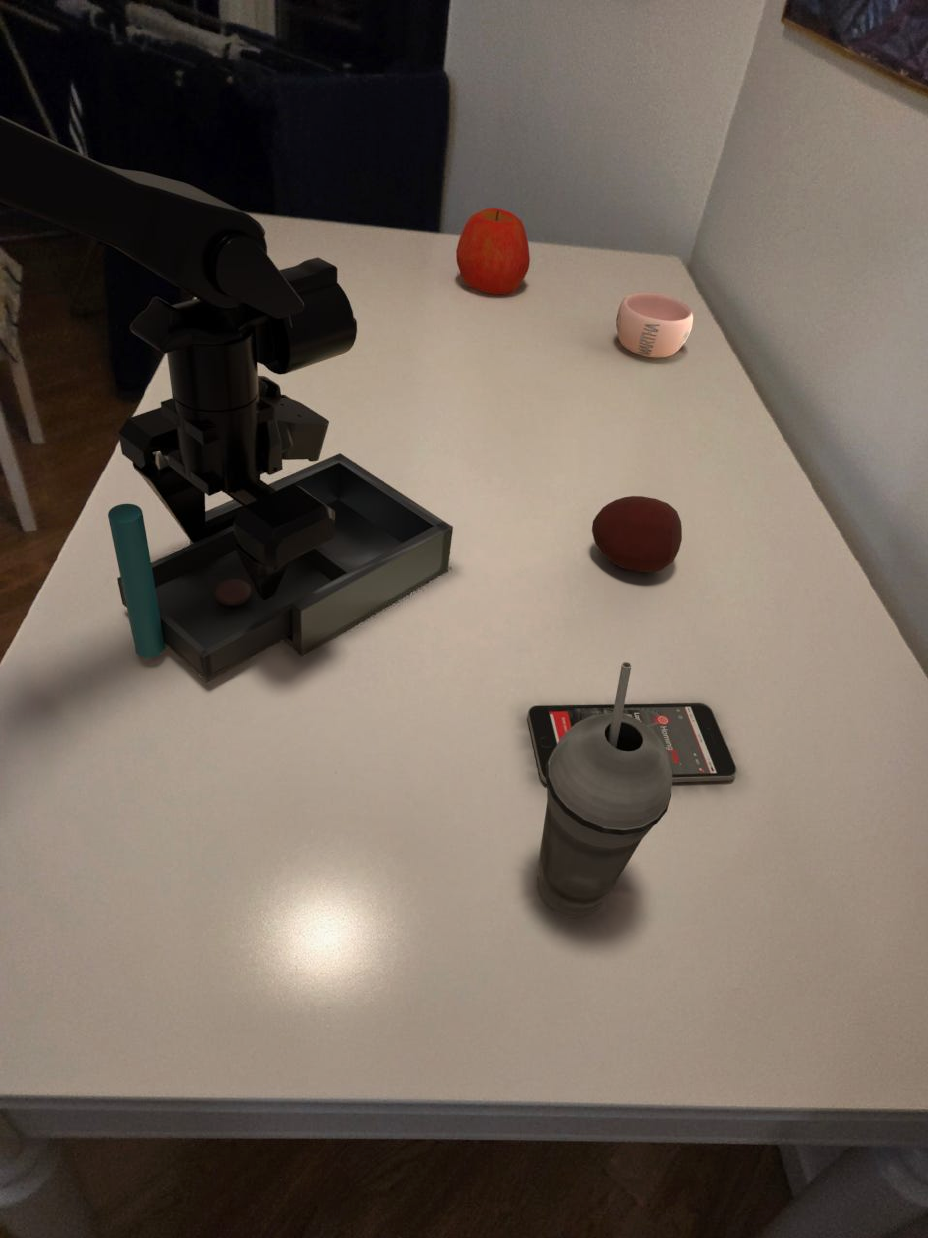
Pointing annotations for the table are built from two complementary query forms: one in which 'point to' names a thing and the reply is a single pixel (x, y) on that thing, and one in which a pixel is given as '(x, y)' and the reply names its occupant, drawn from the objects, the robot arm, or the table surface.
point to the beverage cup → (599, 805)
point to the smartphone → (676, 724)
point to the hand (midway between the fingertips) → (231, 567)
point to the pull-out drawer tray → (358, 548)
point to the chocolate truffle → (233, 592)
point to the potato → (638, 533)
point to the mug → (653, 324)
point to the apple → (493, 251)
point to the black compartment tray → (205, 596)
